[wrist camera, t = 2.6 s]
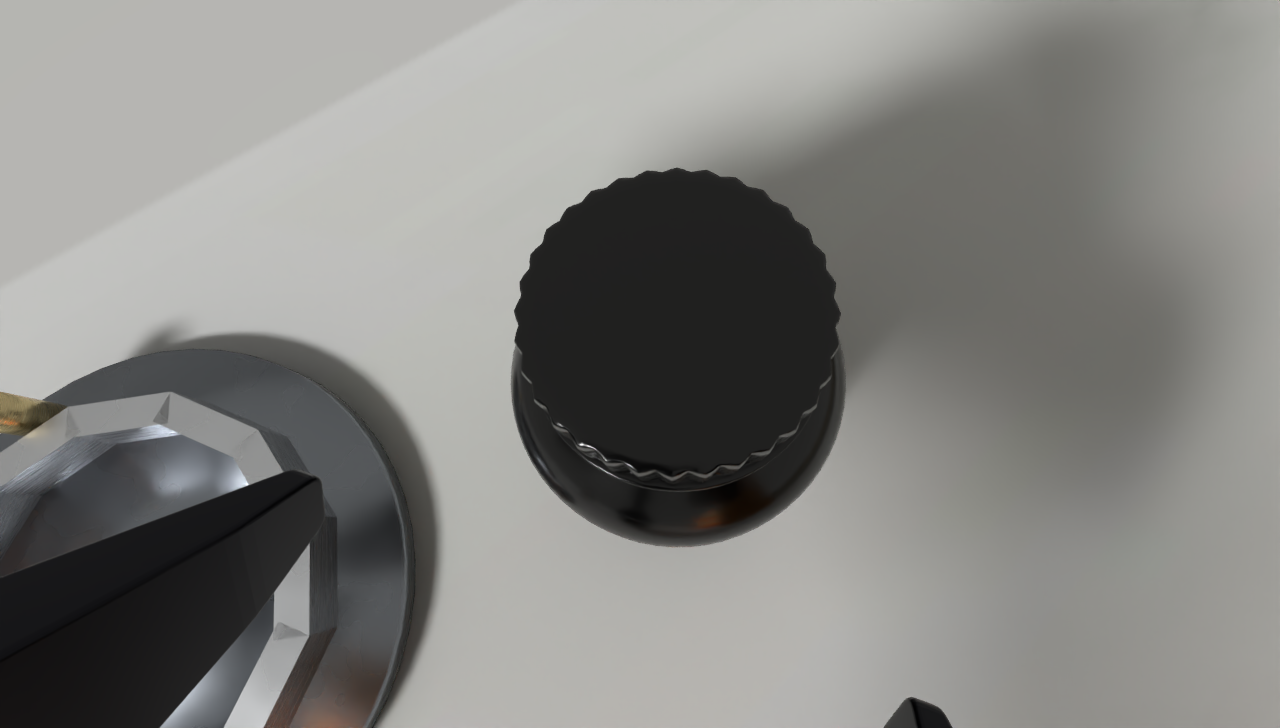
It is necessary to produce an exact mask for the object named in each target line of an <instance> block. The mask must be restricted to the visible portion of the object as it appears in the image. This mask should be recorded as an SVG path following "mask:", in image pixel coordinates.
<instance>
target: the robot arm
mask: <svg viewBox="0 0 1280 728" xmlns="http://www.w3.org/2000/svg"><path fill="white" fill-rule="evenodd" d="M324 518H325V505H324V496H323V486H322V481H321V479H320V478H319V477H318V476H316V475H313V474H311V473H308V472H305V471H302V470H299V469H292V470H288V471H285V472H282V473H280V474H277V475H274V476H271V477H269V478H266V479H263V480H261V481H258V482H255V483H253V484H250V485H247V486H245V487H242V488H239V489H236V490H234V491H231V492H228V493H226V494H223V495H220V496H218V497H215V498H212V499H210V500H207V501H204V502H201V503H199V504H196V505H193V506H191V507H188V508H185V509H183V510H180V511H177V512H175V513H172V514H169V515H166V516H164V517H161V518H158V519H156V520H153V521H150V522H148V523H145V524H142V525H139V526H137V527H134V528H131V529H129V530H126V531H123V532H121V533H118V534H115V535H113V536H110V537H107V538H104V539H102V540H99V541H96V542H94V543H91V544H88V545H86V546H83V547H80V548H78V549H75V550H72V551H69V552H67V553H64V554H61V555H59V556H56V557H53V558H51V559H48V560H45V561H43V562H40V563H37V564H34V565H32V566H29V567H26V568H24V569H21V570H18V571H16V572H13V573H10V574H8V575H5V576H2V577H0V728H160V727H161V726H162V725H163V723H164V722H165V721H166V720H167V719H168V718H169V717H170V715H171V714H172V713H173V712H174V711H175V710H176V709H177V707H178V706H179V705H180V704H181V703H182V702H183V701H184V699H185V698H186V697H187V696H188V695H189V694H190V693H191V691H192V690H193V689H194V688H195V687H196V686H197V684H198V683H199V682H200V681H201V680H202V679H203V678H204V676H205V675H206V674H207V673H208V672H209V671H210V670H211V668H212V667H213V666H214V665H215V664H216V663H217V662H218V660H219V659H220V658H221V657H222V656H223V655H224V654H225V652H226V651H227V650H228V649H229V648H230V647H231V645H232V644H233V643H234V642H235V641H236V640H237V639H238V637H239V636H240V635H241V634H242V633H243V632H244V631H245V629H246V628H247V627H248V626H249V625H250V623H251V622H252V621H253V620H254V619H255V617H256V616H257V615H258V614H259V612H260V611H261V610H262V608H263V607H264V606H265V605H266V603H267V602H268V601H269V599H270V598H271V596H272V595H273V594H274V592H275V591H276V589H277V588H278V587H279V585H280V584H281V582H282V581H283V580H284V578H285V577H286V575H287V574H288V573H289V571H290V570H291V568H292V567H293V566H294V564H295V563H296V562H297V560H298V559H299V557H300V556H301V555H302V553H303V552H304V550H305V549H306V548H307V546H308V545H309V543H310V542H311V541H312V539H313V538H314V536H315V535H316V534H317V532H318V531H319V529H320V528H321V526H322V524H323V521H324ZM884 728H952V726H951V724H950V722H949V720H948V719H947V717H946V715H945V714H944V712H943V711H942V710H941V709H940V708H939V707H937V706H935V705H933V704H930V703H927V702H925V701H922V700H919V699H917V698H913V697H910V698H907V699H906V700H904V701H903V703H902V704H901V705H900V707H899V708H898V709H897V710H896V712H895V713H894V714H893V716H892V717H891V718H890V719H889V721H888V722H887V723H886V725H885V726H884Z"/></svg>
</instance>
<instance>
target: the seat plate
mask: <svg viewBox="0 0 1280 728" xmlns="http://www.w3.org/2000/svg"><path fill="white" fill-rule="evenodd" d="M0 433H1V434H0V577H2V576H5V575H8V574H10V573H13V572H16V571H18V570H21V569H24V568H26V567H29V566H32V565H34V564H37V563H40V562H43V561H45V560H48V559H51V558H53V557H56V556H59V555H61V554H64V553H67V552H69V551H72V550H75V549H78V548H80V547H83V546H86V545H88V544H91V543H94V542H96V541H99V540H102V539H104V538H107V537H110V536H113V535H115V534H118V533H121V532H123V531H126V530H129V529H131V528H134V527H137V526H139V525H142V524H145V523H148V522H150V521H153V520H156V519H158V518H161V517H164V516H166V515H169V514H172V513H175V512H177V511H180V510H183V509H185V508H188V507H191V506H193V505H196V504H199V503H201V502H204V501H207V500H210V499H212V498H215V497H218V496H220V495H223V494H226V493H228V492H231V491H234V490H236V489H239V488H242V487H245V486H247V485H250V484H253V483H255V482H258V481H261V480H263V479H266V478H269V477H271V476H274V475H277V474H280V473H282V472H285V471H288V470H292V469H299V470H302V471H305V472H308V473H311V474H313V475H316V476H318V477H319V478H320V479H321V481H322V486H323V496H324V505H325V518H324V521H323V524H322V526H321V528H320V529H319V531H318V532H317V534H316V535H315V536H314V538H313V539H312V541H311V542H310V543H309V545H308V546H307V548H306V549H305V550H304V552H303V553H302V555H301V556H300V557H299V559H298V560H297V562H296V563H295V564H294V566H293V567H292V568H291V570H290V571H289V573H288V574H287V575H286V577H285V578H284V580H283V581H282V582H281V584H280V585H279V587H278V588H277V589H276V591H275V592H274V594H273V595H272V596H271V598H270V599H269V601H268V602H267V603H266V605H265V606H264V607H263V608H262V610H261V611H260V612H259V614H258V615H257V616H256V617H255V619H254V620H253V621H252V622H251V623H250V625H249V626H248V627H247V628H246V629H245V631H244V632H243V633H242V634H241V635H240V636H239V637H238V639H237V640H236V641H235V642H234V643H233V644H232V645H231V647H230V648H229V649H228V650H227V651H226V652H225V654H224V655H223V656H222V657H221V658H220V659H219V660H218V662H217V663H216V664H215V665H214V666H213V667H212V668H211V670H210V671H209V672H208V673H207V674H206V675H205V676H204V678H203V679H202V680H201V681H200V682H199V683H198V684H197V686H196V687H195V688H194V689H193V690H192V691H191V693H190V694H189V695H188V696H187V697H186V698H185V699H184V701H183V702H182V703H181V704H180V705H179V706H178V707H177V709H176V710H175V711H174V712H173V713H172V714H171V715H170V717H169V718H168V719H167V720H166V721H165V722H164V723H163V725H162V726H161V727H160V728H372V727H373V725H374V723H375V721H376V719H377V718H378V716H379V714H380V712H381V710H382V708H383V706H384V704H385V702H386V700H387V697H388V695H389V692H390V690H391V687H392V685H393V682H394V680H395V677H396V674H397V672H398V669H399V667H400V663H401V659H402V656H403V652H404V648H405V644H406V641H407V637H408V633H409V629H410V622H411V615H412V608H413V601H414V590H415V553H414V543H413V534H412V526H411V521H410V517H409V513H408V509H407V504H406V500H405V496H404V493H403V491H402V488H401V486H400V483H399V480H398V478H397V475H396V473H395V470H394V467H393V466H392V464H391V462H390V460H389V458H388V457H387V455H386V453H385V451H384V450H383V448H382V446H381V444H380V442H379V441H378V440H377V438H376V437H375V436H374V434H373V433H372V432H371V430H370V429H369V428H368V427H367V425H366V424H365V423H364V421H363V420H362V419H361V418H360V417H359V416H358V415H357V414H356V413H355V412H354V411H353V410H352V409H351V408H350V407H349V406H348V405H347V404H346V403H344V402H343V401H342V400H341V399H340V398H338V397H337V396H336V395H334V394H333V393H331V392H330V391H328V390H327V389H326V388H324V387H323V386H321V385H320V384H318V383H316V382H314V381H312V380H310V379H308V378H306V377H304V376H302V375H300V374H298V373H296V372H294V371H292V370H290V369H287V368H285V367H283V366H280V365H278V364H275V363H272V362H269V361H266V360H263V359H260V358H257V357H254V356H251V355H246V354H240V353H234V352H229V351H223V350H204V349H187V350H176V351H164V352H159V353H154V354H149V355H144V356H140V357H135V358H131V359H128V360H125V361H122V362H119V363H116V364H113V365H110V366H107V367H104V368H102V369H99V370H97V371H95V372H93V373H91V374H89V375H86V376H84V377H82V378H80V379H78V380H76V381H73V382H72V383H70V384H68V385H67V386H65V387H63V388H62V389H60V390H58V391H57V392H55V393H53V394H52V395H50V396H48V397H47V398H45V399H43V400H37V399H33V398H28V397H23V396H18V395H13V394H9V393H4V392H0Z"/></svg>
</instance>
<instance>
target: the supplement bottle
mask: <svg viewBox="0 0 1280 728" xmlns="http://www.w3.org/2000/svg"><path fill="white" fill-rule="evenodd" d="M835 290H836V282H835V281H834V279H833V278H832V276H831V275H830V274H829V272H828V271H827V270H826V257H825V254H824V253H823V252H822V251H821V250H820V249H819V248H818V247H817V246H816V245H814V244H813V241H812V237H811V234H810V231H809V229H808V228H806V227H805V226H803V225H802V224H800V223H799V222H797V221H795V220H794V218H793V216H792V213H791V212H790V210H789V209H788V207H786V206H783V205H781V204H779V203H776V202H773V201H772V200H771V199H770V198H769V196H768V195H767V194H766V192H765V191H764V190H761V189H757V188H752V187H747V186H746V185H745V184H743V182H742V181H740V180H739V179H737V178H736V177H720V176H718V175H716V174H714V173H712V172H710V171H708V170H701V171H695V172H689V171H686V170H684V169H680V168H674V169H670V170H667V171H665V172H657V171H645V172H643V173H641V174H639V175H638V176H636V177H634V178H618V179H617V180H616V181H614V182H613V183H612V184H610V185H609V186H608V187H607V188H604V189H598V190H594V191H591V192H590V193H589V194H588V195H587V196H586V197H585V199H584V200H583V201H582V202H581V203H579V204H576V205H573V206H571V207H568V208H567V209H566V211H565V212H564V214H563V215H562V217H561V219H560V221H559V222H557V223H555V224H553V225H552V226H551V227H549V228H548V229H547V230H546V232H545V235H544V240H543V242H542V244H541V245H540V246H539V247H537V248H536V249H535V250H534V251H533V252H532V254H531V255H530V267H529V270H528V271H527V272H526V273H525V275H524V276H523V278H522V279H521V281H520V291H521V298H520V299H519V301H518V303H517V305H516V308H515V310H514V313H515V317H516V320H517V322H518V325H519V326H518V329H517V332H516V336H515V350H514V354H513V361H512V369H511V394H512V405H513V411H514V417H515V421H516V424H517V428H518V432H519V435H520V437H521V440H522V443H523V445H524V448H525V450H526V452H527V454H528V456H529V458H530V460H531V462H532V463H533V465H534V467H535V468H536V470H537V471H538V473H539V474H540V476H541V477H542V479H543V480H544V481H545V482H546V484H547V485H548V486H549V487H550V489H551V490H552V491H553V492H554V493H555V494H556V495H557V496H558V497H559V498H560V499H561V500H562V501H563V502H564V503H565V504H566V505H568V506H569V507H570V508H571V509H572V510H574V511H575V512H576V513H577V514H579V515H580V516H582V517H583V518H585V519H586V520H588V521H589V522H591V523H593V524H594V525H596V526H598V527H600V528H602V529H604V530H606V531H608V532H610V533H613V534H615V535H618V536H620V537H622V538H626V539H629V540H632V541H636V542H639V543H644V544H650V545H655V546H666V547H693V546H701V545H708V544H713V543H717V542H721V541H725V540H728V539H731V538H734V537H737V536H740V535H742V534H745V533H747V532H749V531H751V530H753V529H755V528H757V527H759V526H761V525H763V524H764V523H766V522H768V521H769V520H771V519H773V518H774V517H775V516H777V515H778V514H779V513H781V512H782V511H783V510H785V509H786V508H787V507H788V506H790V505H791V504H792V503H793V502H794V501H795V500H796V499H797V498H798V497H799V496H800V495H801V494H802V493H803V492H804V491H805V490H806V488H807V487H808V486H809V485H810V484H811V483H812V481H813V480H814V478H815V477H816V476H817V474H818V473H819V471H820V470H821V468H822V467H823V465H824V463H825V461H826V459H827V458H828V456H829V454H830V452H831V449H832V447H833V445H834V442H835V440H836V437H837V434H838V431H839V428H840V424H841V420H842V415H843V410H844V402H845V392H846V373H845V364H844V356H843V351H842V347H841V342H840V339H839V336H838V333H837V330H836V326H837V325H838V322H839V319H840V316H841V313H840V310H839V308H838V305H837V303H836V301H835V299H834V294H835Z"/></svg>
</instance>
